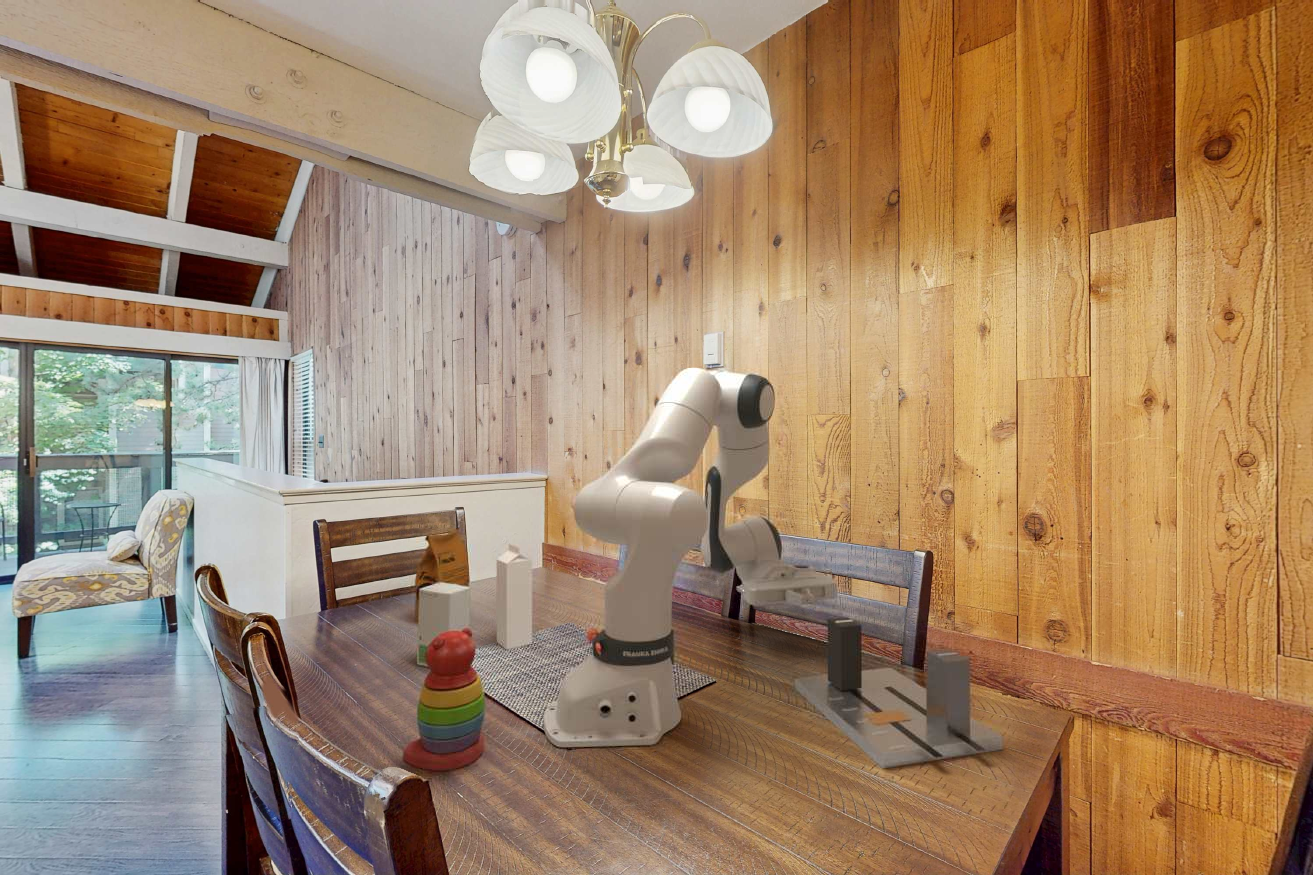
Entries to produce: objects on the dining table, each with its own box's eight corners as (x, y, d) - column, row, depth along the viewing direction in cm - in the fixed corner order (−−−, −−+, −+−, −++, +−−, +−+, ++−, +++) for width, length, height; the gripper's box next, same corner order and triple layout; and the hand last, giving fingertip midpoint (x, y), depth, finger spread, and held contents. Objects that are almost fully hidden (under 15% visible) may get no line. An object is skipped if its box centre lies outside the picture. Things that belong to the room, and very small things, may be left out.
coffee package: (408, 622, 144) (408, 534, 144) (445, 609, 155) (445, 527, 155) (438, 628, 140) (437, 537, 140) (474, 613, 151) (474, 530, 151)
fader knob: (841, 690, 99) (840, 625, 99) (827, 679, 104) (827, 617, 104) (861, 687, 100) (861, 623, 100) (847, 677, 105) (847, 616, 105)
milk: (506, 650, 125) (506, 549, 125) (496, 642, 130) (495, 544, 130) (532, 643, 129) (532, 545, 129) (521, 636, 134) (520, 541, 133)
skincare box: (416, 665, 117) (416, 588, 117) (439, 654, 123) (439, 581, 123) (448, 671, 113) (448, 592, 113) (471, 659, 120) (471, 585, 120)
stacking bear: (464, 727, 92) (463, 615, 92) (502, 748, 85) (502, 629, 85) (397, 756, 83) (397, 633, 83) (434, 782, 77) (434, 650, 77)
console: (894, 778, 78) (894, 681, 78) (795, 689, 105) (794, 617, 105) (1016, 758, 82) (1016, 666, 82) (890, 677, 110) (890, 608, 110)
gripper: (733, 572, 126) (759, 588, 113) (817, 565, 131) (851, 580, 118) (733, 600, 126) (759, 620, 113) (817, 593, 131) (852, 611, 118)
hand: (807, 600), depth 115 cm, fingers closed
